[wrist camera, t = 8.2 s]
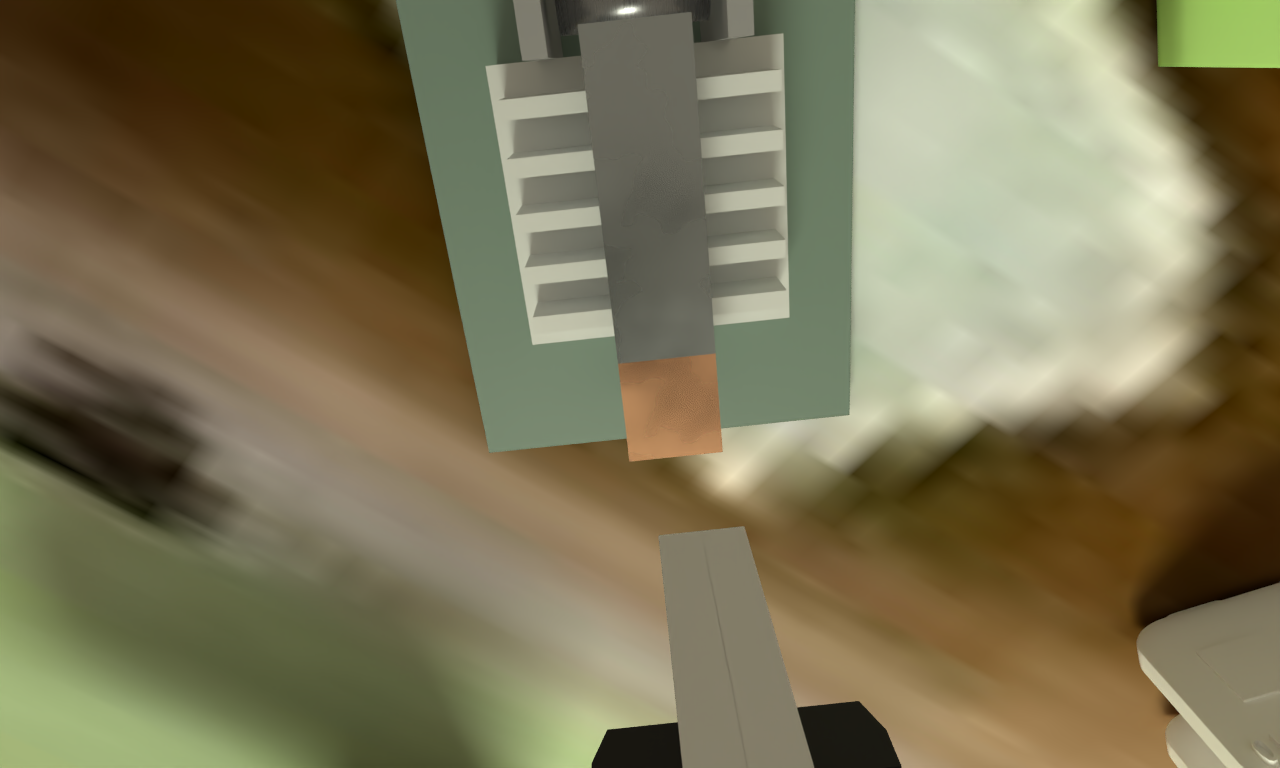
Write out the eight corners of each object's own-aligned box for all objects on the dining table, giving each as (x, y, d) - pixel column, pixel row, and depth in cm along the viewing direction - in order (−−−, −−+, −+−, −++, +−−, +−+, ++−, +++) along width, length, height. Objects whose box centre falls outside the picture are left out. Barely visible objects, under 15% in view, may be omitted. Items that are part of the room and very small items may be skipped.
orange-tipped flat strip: (614, 446, 30) (614, 466, 29) (555, -22, 24) (550, -32, 23) (732, 434, 30) (739, 453, 28) (701, -38, 24) (708, -50, 23)
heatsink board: (492, 441, 38) (459, 546, 30) (381, -108, 29) (288, -175, 21) (842, 404, 38) (905, 499, 30) (847, -160, 29) (942, -249, 20)
